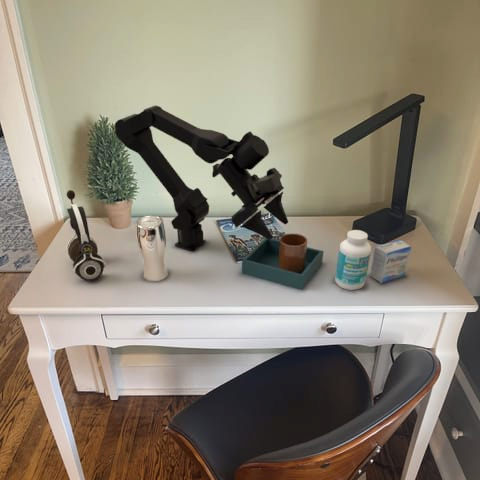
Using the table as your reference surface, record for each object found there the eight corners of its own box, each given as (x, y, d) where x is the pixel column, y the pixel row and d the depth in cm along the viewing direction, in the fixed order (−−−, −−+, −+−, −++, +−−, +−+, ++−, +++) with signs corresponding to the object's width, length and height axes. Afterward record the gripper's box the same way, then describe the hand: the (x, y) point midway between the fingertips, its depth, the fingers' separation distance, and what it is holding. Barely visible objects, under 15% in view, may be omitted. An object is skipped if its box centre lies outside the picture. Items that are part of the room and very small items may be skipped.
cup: (273, 273, 127) (275, 242, 122) (285, 261, 132) (287, 231, 127) (297, 280, 125) (300, 248, 119) (308, 268, 129) (311, 237, 124)
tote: (241, 273, 127) (241, 260, 125) (265, 250, 137) (266, 237, 135) (301, 290, 121) (302, 276, 119) (322, 264, 131) (323, 250, 129)
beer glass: (173, 270, 129) (168, 217, 120) (161, 284, 123) (155, 229, 114) (149, 266, 130) (143, 213, 121) (137, 279, 125) (129, 225, 116)
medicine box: (380, 284, 123) (386, 253, 118) (369, 275, 126) (374, 245, 121) (405, 276, 126) (412, 246, 121) (393, 268, 129) (399, 238, 124)
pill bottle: (339, 292, 120) (347, 243, 112) (330, 276, 126) (336, 228, 118) (369, 289, 121) (378, 240, 113) (358, 274, 127) (367, 226, 119)
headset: (68, 257, 134) (51, 186, 122) (97, 252, 137) (83, 182, 125) (78, 289, 122) (61, 214, 110) (110, 282, 124) (96, 208, 112)
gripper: (242, 173, 109) (286, 229, 111) (278, 149, 122) (316, 199, 124) (213, 200, 117) (254, 252, 119) (249, 175, 130) (286, 222, 132)
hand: (279, 230), depth 123 cm, fingers open, 9 cm apart
